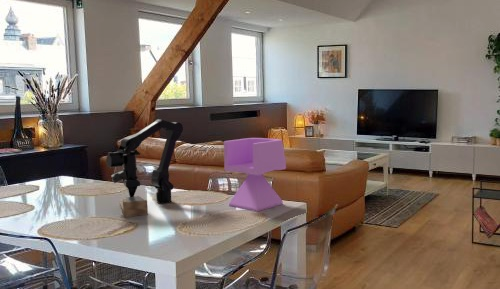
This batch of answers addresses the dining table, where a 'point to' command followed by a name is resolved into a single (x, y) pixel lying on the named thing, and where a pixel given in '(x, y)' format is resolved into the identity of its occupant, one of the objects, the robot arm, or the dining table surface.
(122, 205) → the roller bed
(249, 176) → the chair
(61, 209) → the dining table surface
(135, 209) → the stop wall
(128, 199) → the slab
